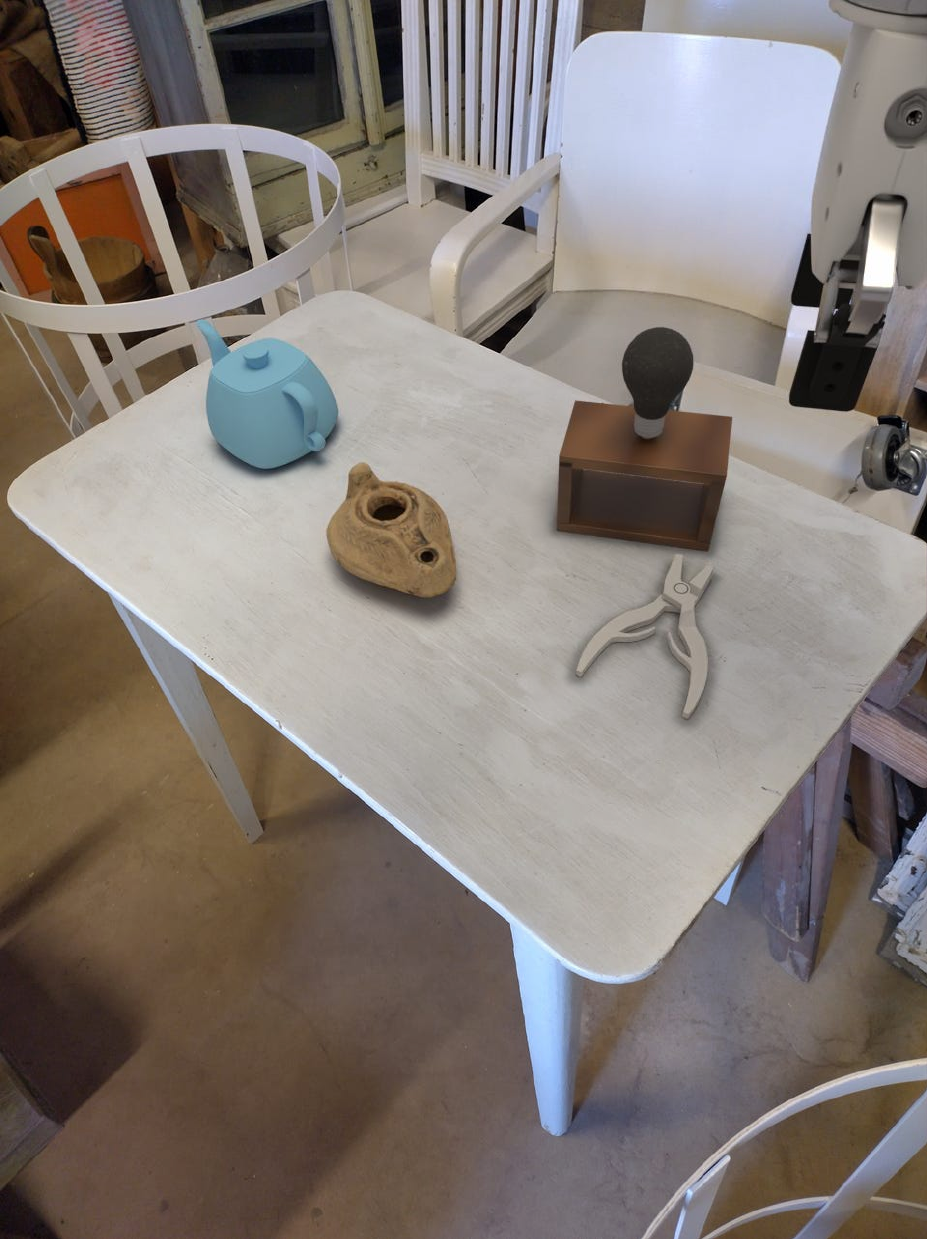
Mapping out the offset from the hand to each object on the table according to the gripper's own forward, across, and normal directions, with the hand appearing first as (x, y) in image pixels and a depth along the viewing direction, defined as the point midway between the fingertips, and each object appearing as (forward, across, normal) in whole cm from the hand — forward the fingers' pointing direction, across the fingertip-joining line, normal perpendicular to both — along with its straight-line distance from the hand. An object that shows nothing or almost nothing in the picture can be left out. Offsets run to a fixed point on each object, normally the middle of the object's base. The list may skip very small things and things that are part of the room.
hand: (819, 352), depth 45 cm
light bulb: (+20, +16, +9) cm, 27 cm away
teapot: (+28, +21, +49) cm, 60 cm away
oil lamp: (+28, +5, +29) cm, 41 cm away
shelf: (+28, +16, +9) cm, 34 cm away
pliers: (+28, +2, +5) cm, 29 cm away
